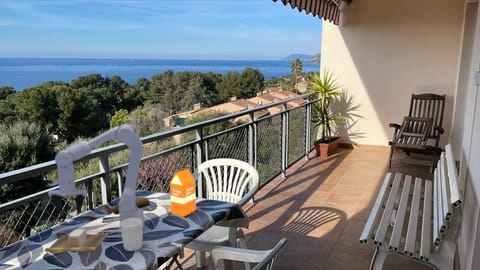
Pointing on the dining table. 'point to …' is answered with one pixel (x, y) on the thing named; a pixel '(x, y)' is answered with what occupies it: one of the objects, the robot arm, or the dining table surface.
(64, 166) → the robot arm
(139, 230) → the white cup
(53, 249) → the shelf board
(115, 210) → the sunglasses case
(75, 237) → the carton
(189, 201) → the orange juice
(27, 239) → the dining table surface
